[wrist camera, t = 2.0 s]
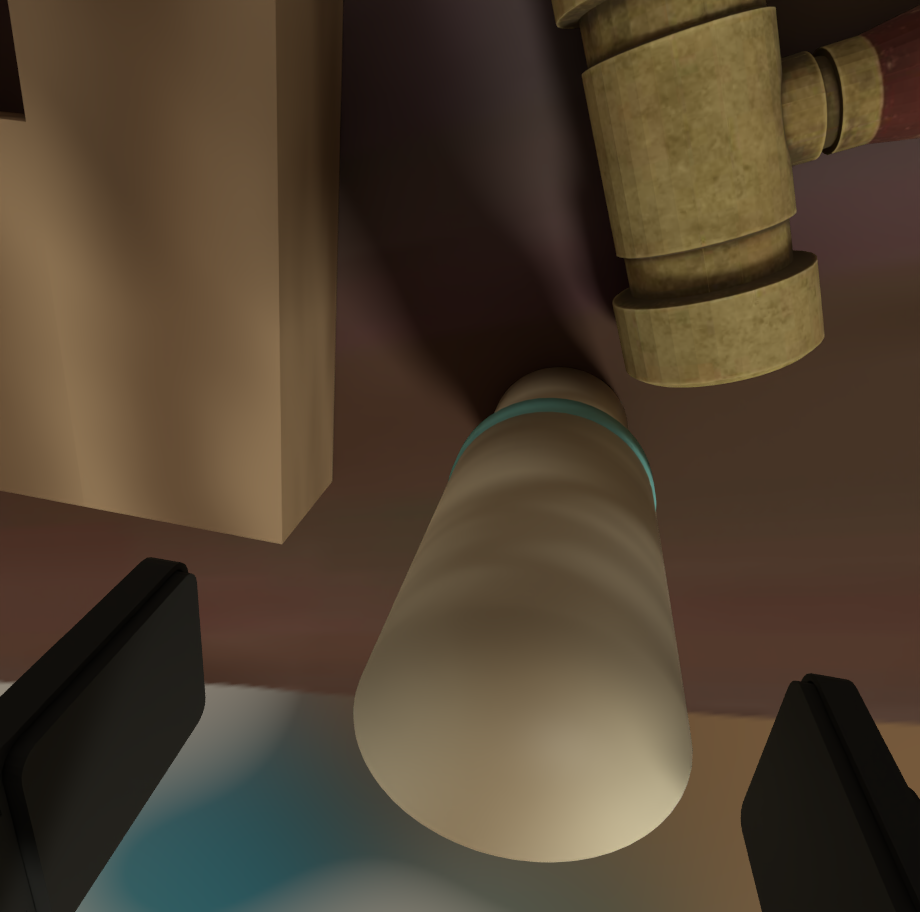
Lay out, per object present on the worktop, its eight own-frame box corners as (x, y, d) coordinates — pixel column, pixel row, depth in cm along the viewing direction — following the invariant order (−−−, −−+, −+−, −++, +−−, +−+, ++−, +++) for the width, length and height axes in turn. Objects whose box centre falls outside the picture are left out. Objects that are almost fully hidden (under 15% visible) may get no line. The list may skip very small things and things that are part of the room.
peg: (660, 365, 19) (739, 644, 8) (625, 516, 21) (653, 896, 11) (487, 340, 20) (355, 570, 9) (470, 490, 22) (345, 822, 11)
